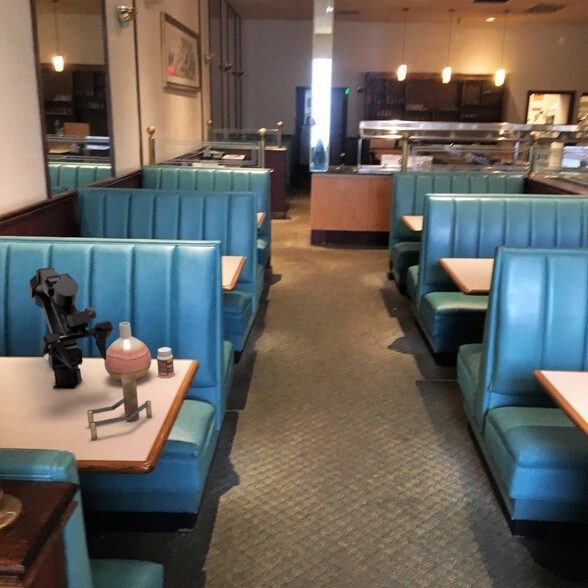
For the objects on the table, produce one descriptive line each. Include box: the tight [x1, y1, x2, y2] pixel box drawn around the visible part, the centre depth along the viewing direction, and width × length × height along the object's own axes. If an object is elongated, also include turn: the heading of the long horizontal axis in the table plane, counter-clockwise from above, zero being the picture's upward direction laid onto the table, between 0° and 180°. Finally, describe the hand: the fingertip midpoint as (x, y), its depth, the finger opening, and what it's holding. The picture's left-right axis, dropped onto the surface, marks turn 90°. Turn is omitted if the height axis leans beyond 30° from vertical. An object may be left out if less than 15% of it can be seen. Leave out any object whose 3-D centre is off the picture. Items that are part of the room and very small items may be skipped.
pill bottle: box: [156, 346, 175, 379], centre depth 190 cm, size 5×5×8 cm
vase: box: [103, 321, 152, 383], centre depth 186 cm, size 14×14×18 cm
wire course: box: [86, 397, 153, 441], centre depth 160 cm, size 15×16×4 cm
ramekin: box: [43, 353, 54, 373], centre depth 198 cm, size 9×9×4 cm
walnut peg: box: [121, 372, 140, 423], centre depth 162 cm, size 4×4×12 cm
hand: (89, 363), depth 165 cm, fingers open, 9 cm apart
